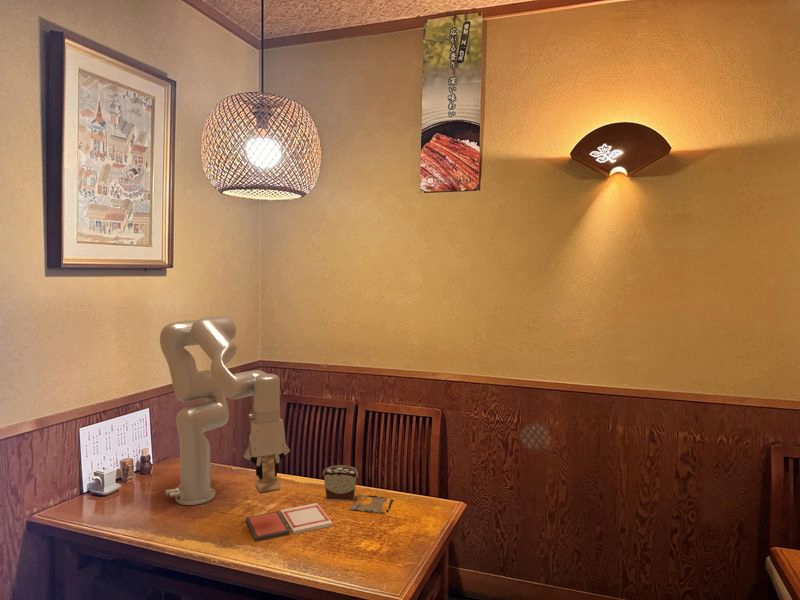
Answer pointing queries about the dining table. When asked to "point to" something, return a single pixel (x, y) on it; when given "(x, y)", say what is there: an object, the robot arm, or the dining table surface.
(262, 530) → the ink pad
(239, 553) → the dining table surface
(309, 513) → the marked board
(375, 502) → the parchment
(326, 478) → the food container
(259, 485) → the stamp
